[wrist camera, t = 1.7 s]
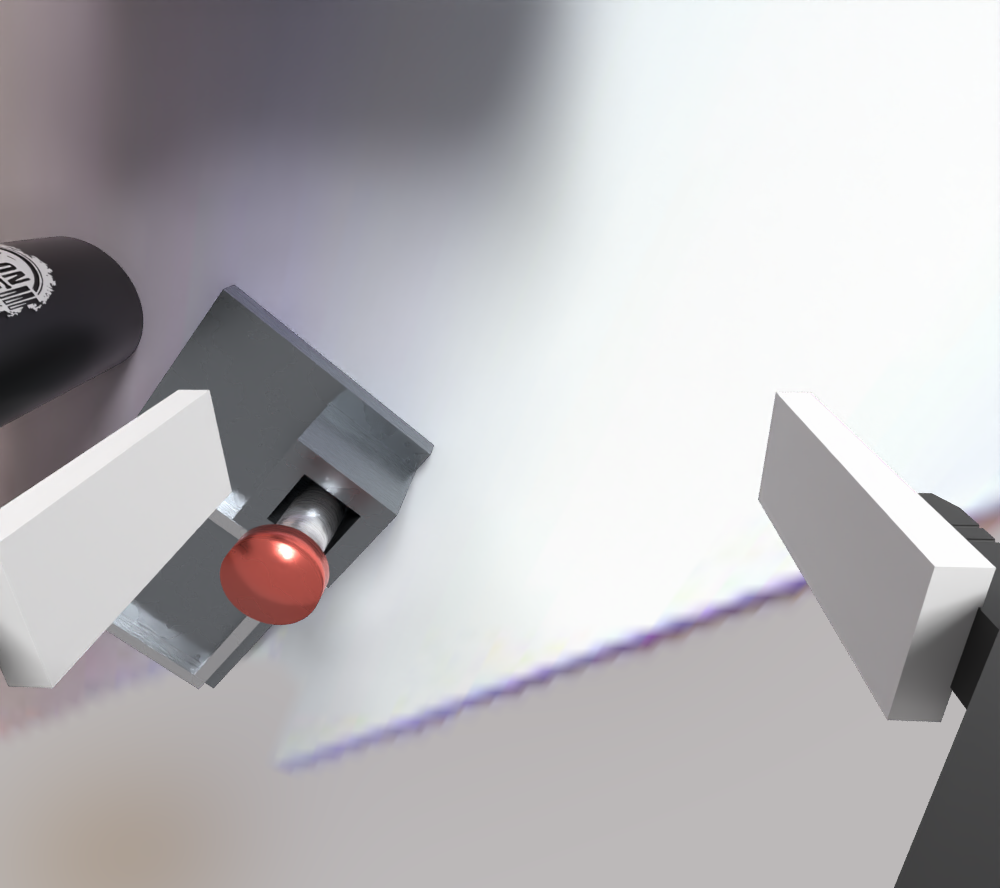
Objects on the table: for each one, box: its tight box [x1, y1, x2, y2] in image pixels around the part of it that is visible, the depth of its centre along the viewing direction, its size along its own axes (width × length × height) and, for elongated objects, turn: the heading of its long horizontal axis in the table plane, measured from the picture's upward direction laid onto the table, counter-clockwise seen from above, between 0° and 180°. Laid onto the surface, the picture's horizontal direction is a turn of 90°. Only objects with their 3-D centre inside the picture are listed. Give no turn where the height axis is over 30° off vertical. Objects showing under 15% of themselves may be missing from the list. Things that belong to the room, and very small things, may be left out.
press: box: [106, 285, 434, 689], centre depth 44 cm, size 16×28×8 cm, turn 139°
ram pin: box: [220, 483, 346, 625], centre depth 36 cm, size 5×5×8 cm
